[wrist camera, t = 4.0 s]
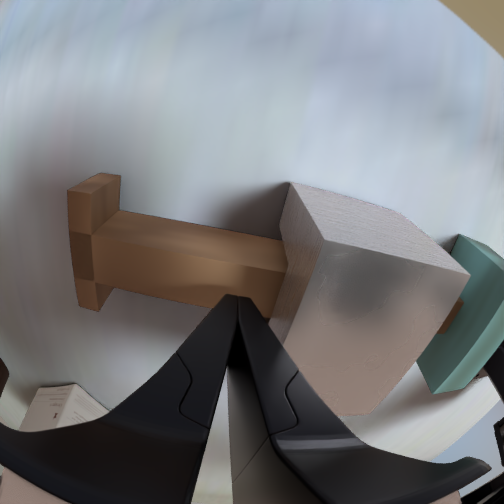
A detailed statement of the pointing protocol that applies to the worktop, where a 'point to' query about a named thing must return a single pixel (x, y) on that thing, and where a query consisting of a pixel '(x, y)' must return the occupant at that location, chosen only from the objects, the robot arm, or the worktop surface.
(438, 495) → the robot arm
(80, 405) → the supplement box
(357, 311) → the block
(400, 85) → the worktop surface
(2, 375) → the coffee mug
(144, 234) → the track
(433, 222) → the worktop surface
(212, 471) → the worktop surface
